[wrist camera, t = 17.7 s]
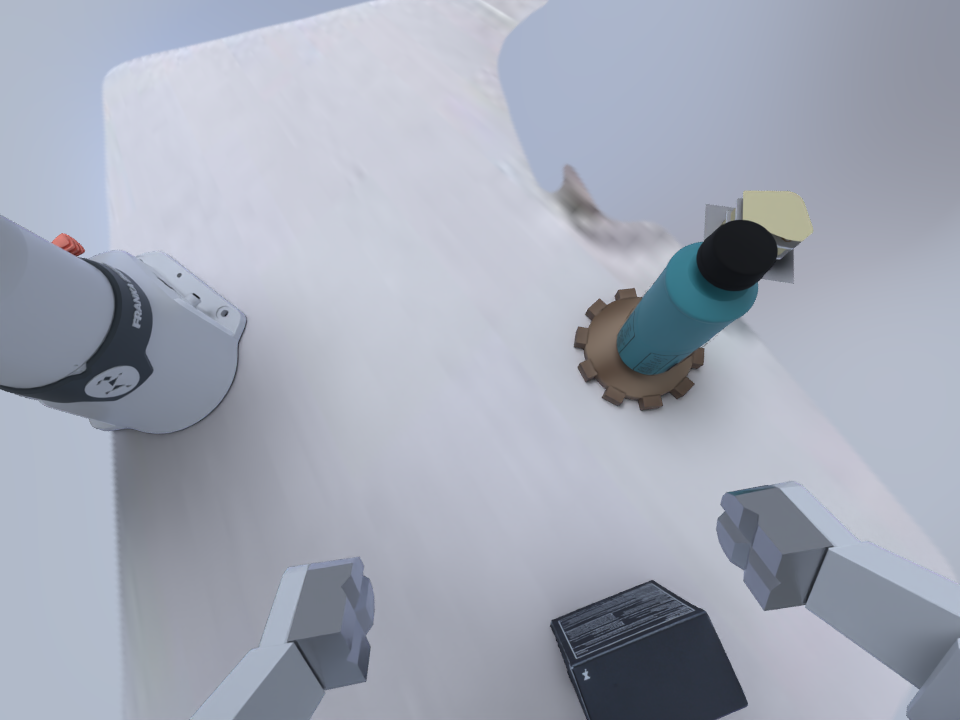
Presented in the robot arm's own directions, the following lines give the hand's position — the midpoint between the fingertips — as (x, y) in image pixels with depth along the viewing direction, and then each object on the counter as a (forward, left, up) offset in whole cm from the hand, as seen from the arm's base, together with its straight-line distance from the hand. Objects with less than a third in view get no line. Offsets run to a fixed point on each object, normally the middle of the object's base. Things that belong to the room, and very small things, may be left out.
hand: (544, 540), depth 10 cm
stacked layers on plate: (-2, +40, -35) cm, 53 cm away
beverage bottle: (-2, +20, -33) cm, 39 cm away
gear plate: (-2, +21, -34) cm, 40 cm away
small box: (+15, -1, -34) cm, 38 cm away
